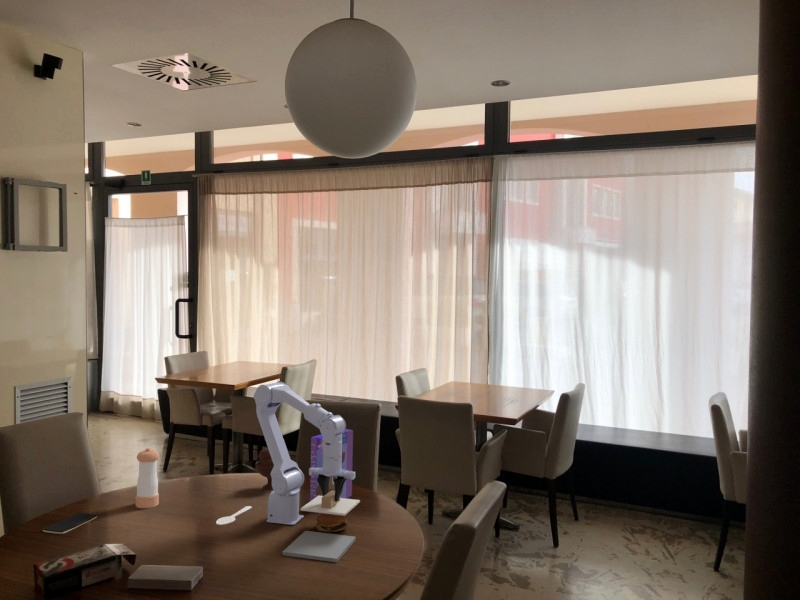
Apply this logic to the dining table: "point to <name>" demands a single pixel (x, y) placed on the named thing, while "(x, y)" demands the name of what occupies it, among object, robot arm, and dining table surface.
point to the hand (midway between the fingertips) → (331, 500)
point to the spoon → (231, 517)
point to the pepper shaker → (147, 479)
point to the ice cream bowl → (265, 467)
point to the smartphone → (69, 523)
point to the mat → (319, 546)
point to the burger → (330, 522)
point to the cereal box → (318, 463)
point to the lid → (330, 504)
